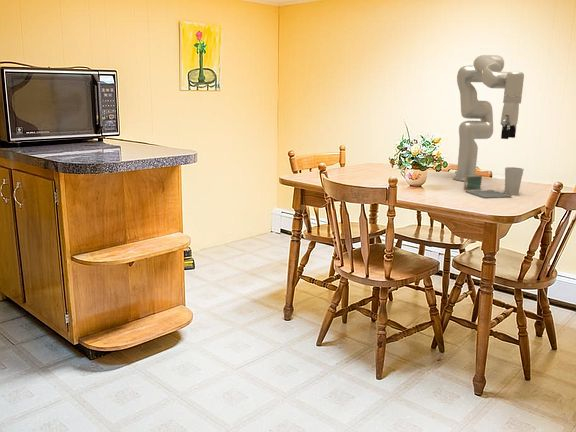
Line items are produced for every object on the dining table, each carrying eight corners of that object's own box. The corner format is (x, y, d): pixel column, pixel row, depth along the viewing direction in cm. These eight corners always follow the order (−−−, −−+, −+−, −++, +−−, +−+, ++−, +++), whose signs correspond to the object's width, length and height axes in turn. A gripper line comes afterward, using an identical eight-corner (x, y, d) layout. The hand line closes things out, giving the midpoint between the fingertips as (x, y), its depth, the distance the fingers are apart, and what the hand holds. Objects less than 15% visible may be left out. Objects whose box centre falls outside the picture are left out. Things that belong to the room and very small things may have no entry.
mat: (465, 192, 253) (465, 190, 253) (491, 191, 256) (491, 190, 256) (484, 198, 239) (484, 197, 239) (511, 197, 242) (511, 196, 242)
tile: (463, 189, 260) (465, 175, 258) (478, 189, 262) (479, 175, 260) (465, 190, 258) (467, 176, 256) (480, 189, 260) (482, 175, 258)
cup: (508, 195, 247) (511, 169, 244) (499, 192, 254) (501, 167, 252) (524, 195, 248) (527, 169, 246) (513, 191, 256) (516, 167, 253)
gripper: (509, 99, 250) (505, 136, 254) (497, 100, 237) (493, 138, 241) (526, 100, 245) (522, 137, 249) (515, 100, 232) (510, 139, 236)
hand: (508, 138), depth 245 cm, fingers open, 9 cm apart
